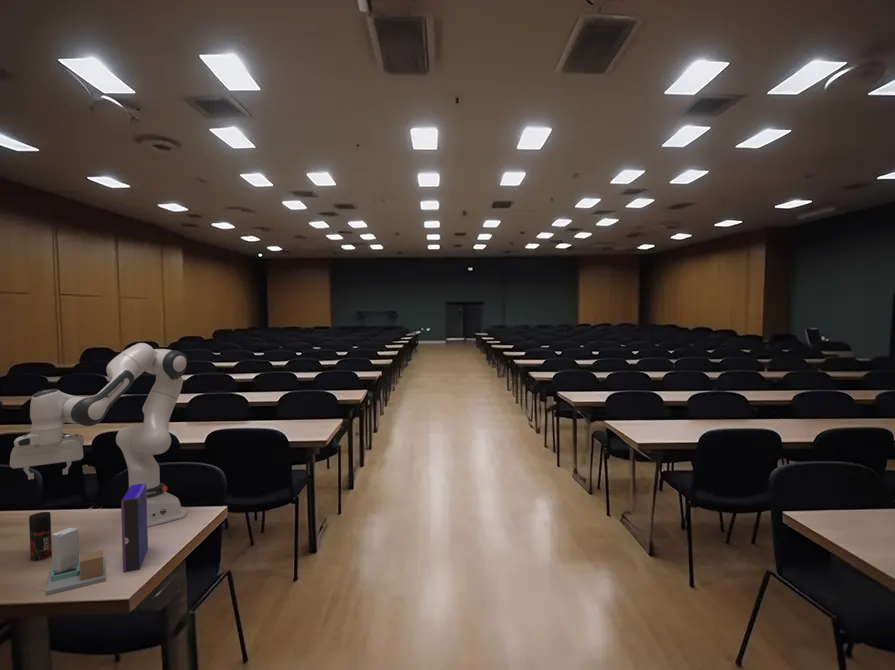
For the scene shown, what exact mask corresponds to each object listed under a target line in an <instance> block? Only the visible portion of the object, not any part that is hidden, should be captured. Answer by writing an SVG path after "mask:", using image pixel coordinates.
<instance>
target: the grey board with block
mask: <svg viewBox="0 0 895 670" xmlns="http://www.w3.org/2000/svg"><path fill="white" fill-rule="evenodd" d="M103 552H104V550H103V549H102V550H97V551H92V552H88V553H83V554H80V555H79V564H78V565H76V566H74V567H72V568H69V569H67V570H65V571H62V572H57V571H54V570H53V567H50V570H49V575H48V580H47V586H46V590H45V591H46V595H45V596H49V595H50V596H51V595H53V594H57V593H58V594H59V593H61V592H66V591H70V590H71V591H72V590H74V589H78V588H79V589H80V588H82V587H86V586H91V585H95V583H96V584H99V582H100V583H102V582H103V581H104V582H106V558H105V555H104V553H103Z"/></svg>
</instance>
